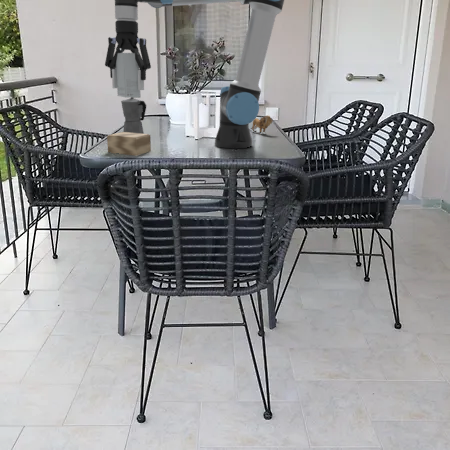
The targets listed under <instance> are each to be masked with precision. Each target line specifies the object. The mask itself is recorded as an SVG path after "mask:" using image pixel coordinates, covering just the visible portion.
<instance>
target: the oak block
mask: <svg viewBox="0 0 450 450" xmlns="http://www.w3.org/2000/svg"><path fill="white" fill-rule="evenodd" d="M106 139H107V140H106V141H107V143H106V144H107V153H108V152H111V153H110V154H116V153H119V154H118V155H127V156H135V157H137V156H140V155H143V154H146V153H151V151H152V147H151V146H152V145H151V143H152V142H151V134H149V133H144V134H141V133H130V132H123V131H120V132H116V133H112V134H108V135H106Z"/></svg>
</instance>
